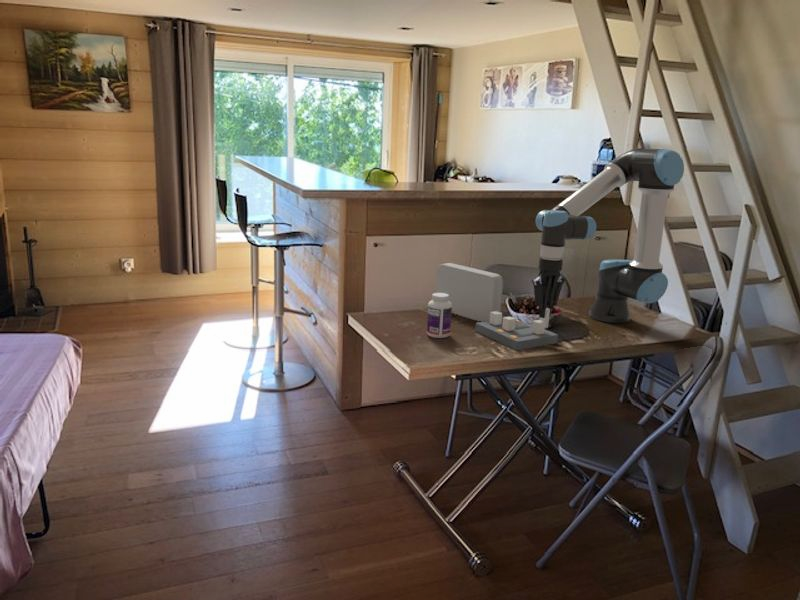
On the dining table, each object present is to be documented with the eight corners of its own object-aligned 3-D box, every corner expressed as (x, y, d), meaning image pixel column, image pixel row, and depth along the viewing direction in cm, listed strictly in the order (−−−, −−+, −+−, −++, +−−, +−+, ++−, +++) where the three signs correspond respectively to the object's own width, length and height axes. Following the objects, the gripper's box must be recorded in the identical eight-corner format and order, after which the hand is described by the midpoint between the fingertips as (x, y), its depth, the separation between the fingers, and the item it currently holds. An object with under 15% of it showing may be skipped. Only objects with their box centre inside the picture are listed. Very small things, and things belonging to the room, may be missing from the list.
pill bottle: (447, 331, 219) (449, 291, 215) (452, 339, 211) (455, 297, 208) (424, 331, 218) (426, 291, 214) (428, 339, 210) (431, 297, 206)
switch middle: (508, 327, 216) (509, 316, 215) (514, 330, 214) (515, 318, 213) (502, 328, 215) (503, 317, 214) (507, 331, 212) (508, 319, 211)
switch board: (514, 325, 230) (515, 316, 229) (557, 343, 212) (558, 334, 211) (475, 330, 221) (475, 322, 220) (516, 350, 203) (517, 341, 202)
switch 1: (496, 321, 222) (496, 311, 221) (501, 324, 219) (502, 313, 218) (489, 322, 220) (490, 311, 219) (494, 325, 218) (495, 314, 217)
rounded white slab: (503, 321, 234) (507, 274, 230) (490, 325, 229) (494, 277, 224) (446, 304, 254) (449, 261, 249) (433, 307, 249) (436, 263, 244)
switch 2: (538, 330, 214) (539, 319, 213) (544, 333, 211) (545, 322, 210) (531, 332, 212) (532, 320, 211) (537, 334, 210) (538, 323, 209)
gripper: (557, 254, 213) (550, 321, 219) (528, 256, 206) (521, 325, 212) (574, 259, 207) (565, 327, 213) (544, 261, 200) (536, 331, 206)
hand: (543, 326), depth 212 cm, fingers closed
